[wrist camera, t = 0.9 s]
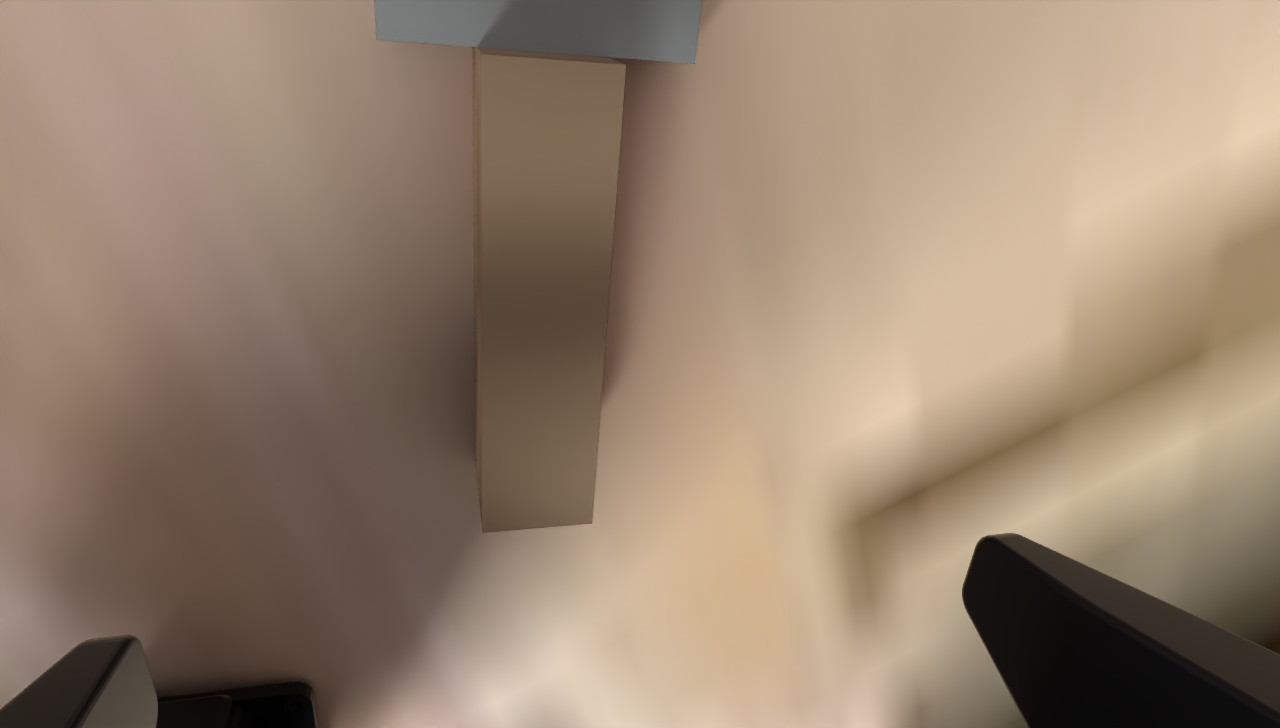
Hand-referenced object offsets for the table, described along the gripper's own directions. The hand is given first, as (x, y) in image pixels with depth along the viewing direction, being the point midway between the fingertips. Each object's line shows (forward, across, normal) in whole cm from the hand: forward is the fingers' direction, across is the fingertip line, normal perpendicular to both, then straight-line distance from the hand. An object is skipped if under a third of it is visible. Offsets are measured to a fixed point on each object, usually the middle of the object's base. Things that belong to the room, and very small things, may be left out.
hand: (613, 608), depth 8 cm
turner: (+11, 0, -3) cm, 11 cm away
